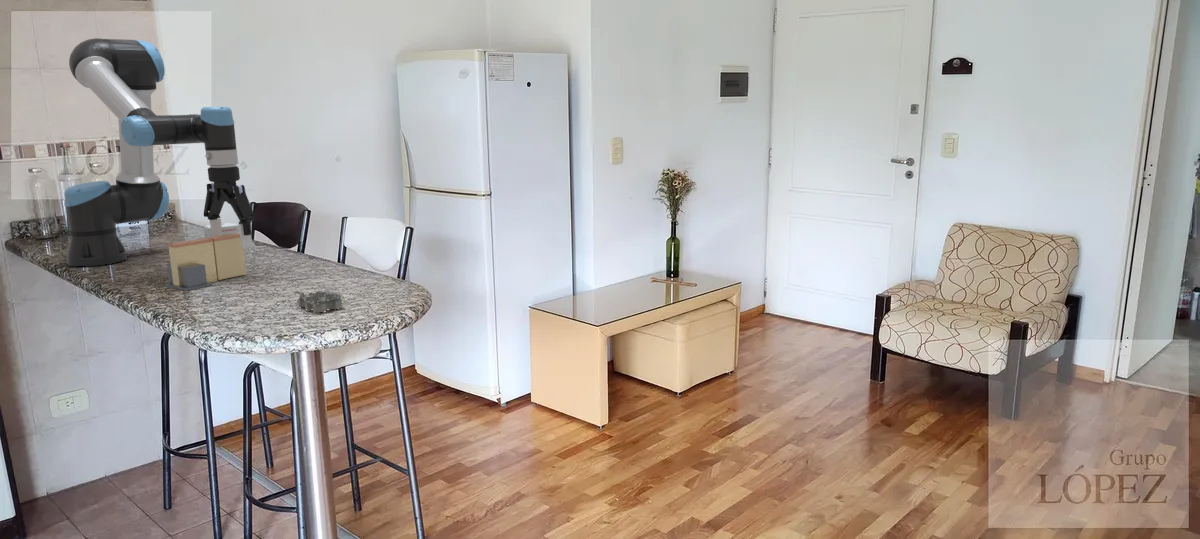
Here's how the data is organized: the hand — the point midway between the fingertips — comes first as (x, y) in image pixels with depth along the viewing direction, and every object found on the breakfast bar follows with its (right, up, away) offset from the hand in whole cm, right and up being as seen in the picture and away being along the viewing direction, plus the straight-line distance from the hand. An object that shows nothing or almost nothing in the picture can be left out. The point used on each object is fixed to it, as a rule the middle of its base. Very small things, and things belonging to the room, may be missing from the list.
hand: (232, 245), depth 212 cm
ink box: (-10, -5, +17) cm, 20 cm away
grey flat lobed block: (+35, -16, -30) cm, 48 cm away
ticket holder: (-6, -10, -7) cm, 14 cm away
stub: (-1, -9, +1) cm, 9 cm away
